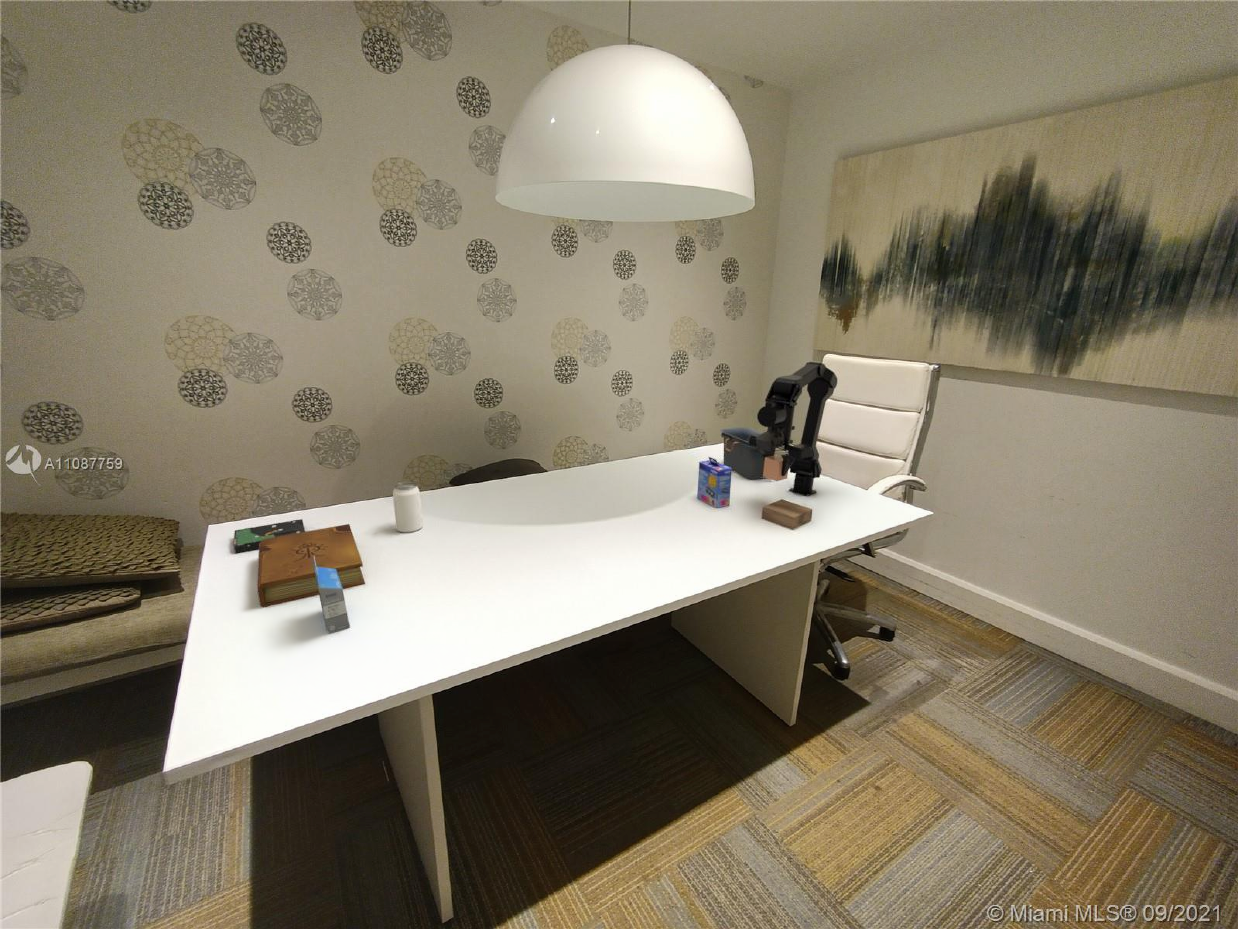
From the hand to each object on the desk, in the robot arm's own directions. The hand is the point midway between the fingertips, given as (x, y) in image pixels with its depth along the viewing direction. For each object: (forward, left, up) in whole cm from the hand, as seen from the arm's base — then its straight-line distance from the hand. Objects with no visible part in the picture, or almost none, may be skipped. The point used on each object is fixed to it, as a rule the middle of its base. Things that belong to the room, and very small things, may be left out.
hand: (775, 473), depth 159 cm
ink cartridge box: (+10, -15, -12) cm, 21 cm away
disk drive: (+122, -60, -12) cm, 137 cm away
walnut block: (+3, +7, -12) cm, 14 cm away
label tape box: (+117, -14, -12) cm, 119 cm away
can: (+92, -48, -12) cm, 104 cm away
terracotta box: (0, 0, -1) cm, 1 cm away
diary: (+117, -37, -12) cm, 123 cm away
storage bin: (-22, -28, -12) cm, 37 cm away
